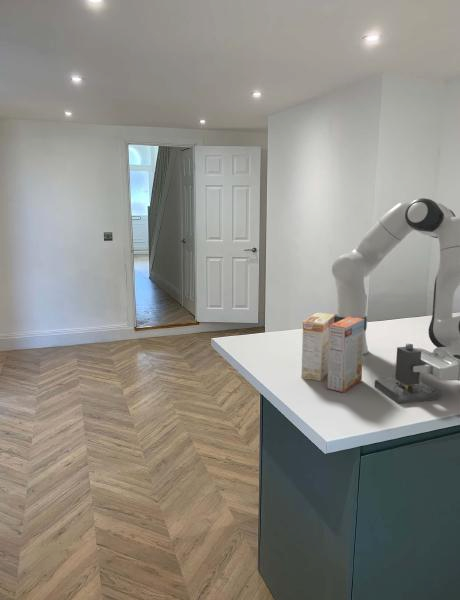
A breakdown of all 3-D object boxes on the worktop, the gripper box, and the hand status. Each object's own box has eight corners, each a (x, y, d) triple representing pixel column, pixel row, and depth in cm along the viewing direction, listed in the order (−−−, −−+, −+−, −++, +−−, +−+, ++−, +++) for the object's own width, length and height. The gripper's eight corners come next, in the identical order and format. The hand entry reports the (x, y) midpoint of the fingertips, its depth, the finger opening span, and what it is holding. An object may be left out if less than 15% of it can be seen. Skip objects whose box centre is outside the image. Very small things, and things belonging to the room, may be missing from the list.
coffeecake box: (313, 364, 166) (315, 312, 162) (333, 367, 163) (335, 314, 159) (300, 378, 153) (302, 321, 149) (321, 381, 150) (323, 323, 146)
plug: (394, 384, 142) (397, 342, 139) (407, 383, 143) (410, 341, 140) (405, 391, 137) (408, 347, 134) (418, 390, 138) (421, 346, 135)
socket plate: (374, 387, 145) (375, 377, 144) (410, 383, 148) (411, 373, 147) (398, 403, 132) (399, 393, 132) (437, 399, 135) (438, 389, 135)
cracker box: (345, 376, 154) (348, 315, 150) (362, 380, 151) (366, 318, 147) (325, 388, 144) (328, 323, 140) (343, 393, 140) (346, 327, 136)
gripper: (424, 342, 151) (386, 345, 147) (470, 361, 131) (427, 365, 128) (422, 360, 152) (385, 363, 149) (467, 382, 132) (425, 387, 129)
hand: (405, 364), depth 138 cm, fingers closed on plug, 5 cm apart
